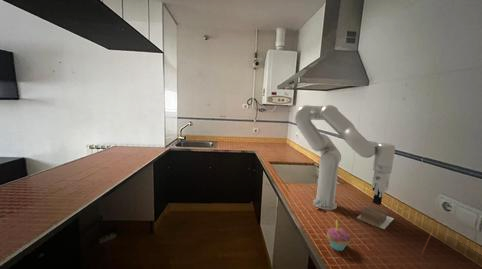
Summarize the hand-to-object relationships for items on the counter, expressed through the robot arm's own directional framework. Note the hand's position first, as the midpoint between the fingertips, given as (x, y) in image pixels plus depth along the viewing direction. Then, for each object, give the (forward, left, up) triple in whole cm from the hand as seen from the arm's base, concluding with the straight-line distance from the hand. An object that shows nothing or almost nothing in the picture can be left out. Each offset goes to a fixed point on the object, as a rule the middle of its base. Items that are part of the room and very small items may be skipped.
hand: (376, 203), depth 102 cm
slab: (+4, 0, -6) cm, 7 cm away
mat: (+1, 0, -9) cm, 9 cm away
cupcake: (-37, +2, -9) cm, 38 cm away
